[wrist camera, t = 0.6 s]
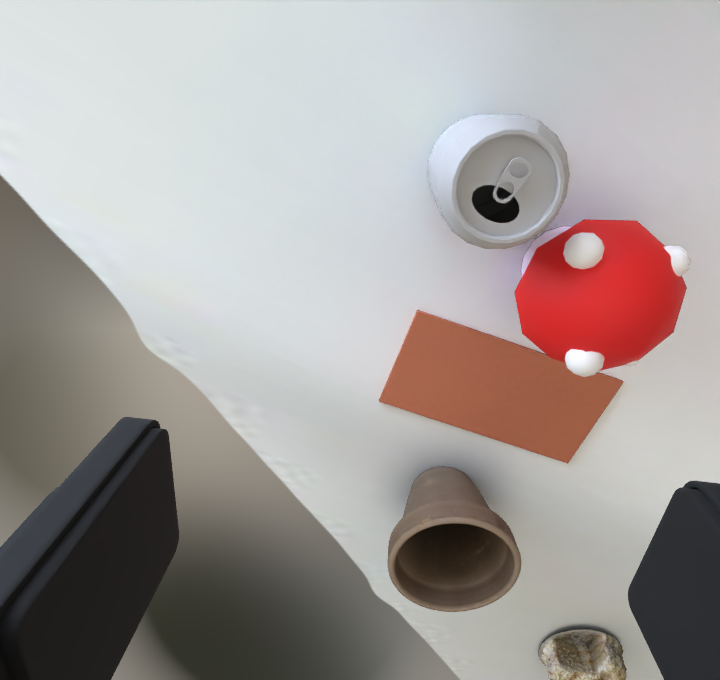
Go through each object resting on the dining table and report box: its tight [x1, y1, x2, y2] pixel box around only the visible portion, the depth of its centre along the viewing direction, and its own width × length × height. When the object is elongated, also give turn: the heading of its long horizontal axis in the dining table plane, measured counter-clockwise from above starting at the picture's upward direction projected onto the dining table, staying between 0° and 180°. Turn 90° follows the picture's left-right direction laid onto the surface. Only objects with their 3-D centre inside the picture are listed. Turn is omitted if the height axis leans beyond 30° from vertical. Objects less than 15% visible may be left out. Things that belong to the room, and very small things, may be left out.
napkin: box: [379, 310, 623, 463], centre depth 45 cm, size 10×20×1 cm, turn 71°
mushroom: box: [515, 220, 691, 377], centre depth 34 cm, size 11×11×12 cm
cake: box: [539, 629, 627, 680], centre depth 58 cm, size 10×10×5 cm
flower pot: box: [388, 467, 521, 612], centre depth 46 cm, size 12×11×10 cm
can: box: [428, 114, 570, 249], centre depth 31 cm, size 8×8×12 cm
